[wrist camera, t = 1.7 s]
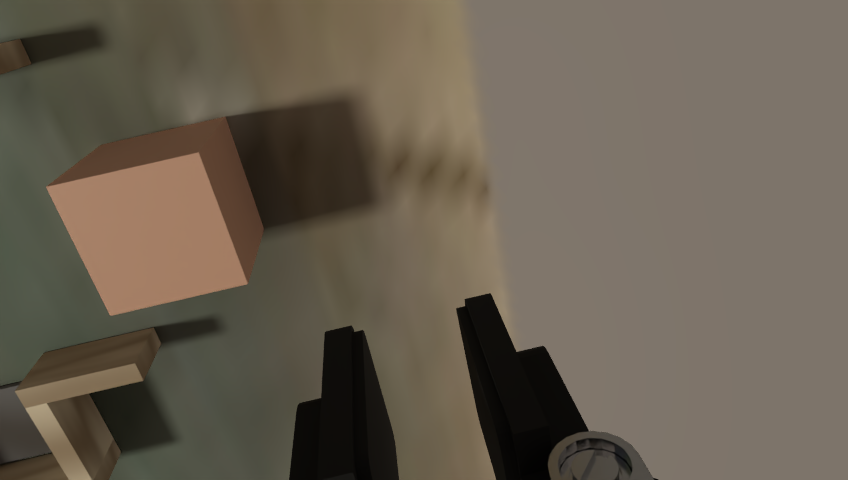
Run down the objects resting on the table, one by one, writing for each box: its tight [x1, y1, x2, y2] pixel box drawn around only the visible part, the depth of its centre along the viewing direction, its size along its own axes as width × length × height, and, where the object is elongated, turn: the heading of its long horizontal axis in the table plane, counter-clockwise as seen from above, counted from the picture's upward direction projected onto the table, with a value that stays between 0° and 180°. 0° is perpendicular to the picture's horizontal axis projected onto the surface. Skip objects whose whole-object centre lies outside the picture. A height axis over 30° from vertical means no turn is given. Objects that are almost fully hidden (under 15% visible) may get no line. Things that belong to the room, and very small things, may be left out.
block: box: [46, 117, 264, 316], centre depth 25 cm, size 6×6×6 cm
